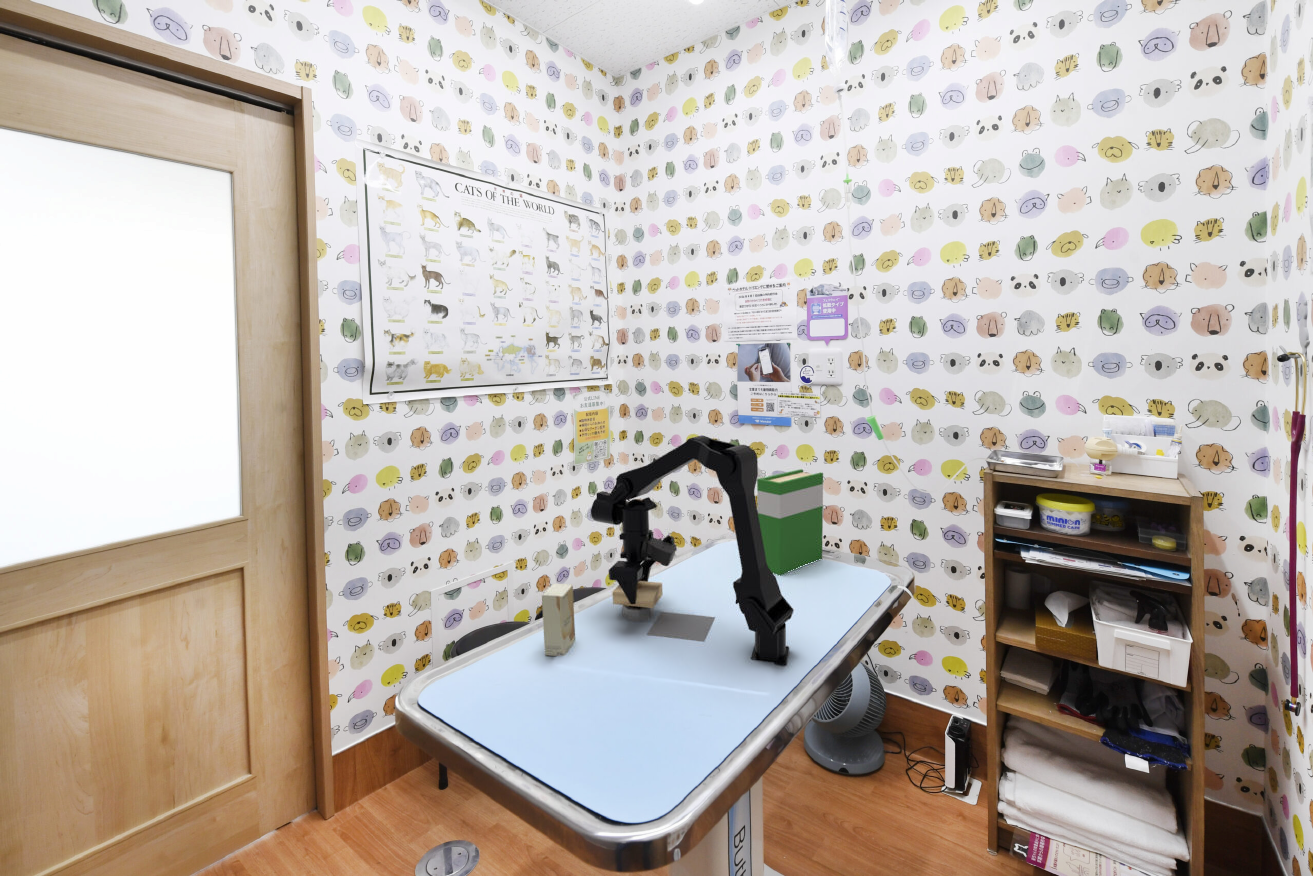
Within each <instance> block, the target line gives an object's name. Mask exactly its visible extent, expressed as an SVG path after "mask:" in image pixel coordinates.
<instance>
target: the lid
mask: <svg viewBox="0 0 1313 876" xmlns="http://www.w3.org/2000/svg"><path fill="white" fill-rule="evenodd" d="M662 596H663V582H656V581H648V582H647V581H639V582H638V588H637V597H636V603H635V604H630V602H629V601H628V599H627V597H626V595H625V593H624V592H623V590H622V588H621V587H620V585H619V584H617V587H615V588H614V589H613V590H612V605H618V606H623V605H627V606H637V607H647V608H654V609H655V606H656V605H657V604H658V602H659V600H660V599H661V598H662Z"/></svg>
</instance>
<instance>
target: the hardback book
mask: <svg viewBox="0 0 1313 876" xmlns="http://www.w3.org/2000/svg"><path fill="white" fill-rule="evenodd" d="M756 487H757V488H756V489H757V495H756V496H757V497H756V498H757V501H756V505H757V511H758V516H759V522H760V528H761V533H762V539H763V545H764V550H765V556H766V562H767V566H768V567H769V569H770V570H771V572H772V573H774V575H776V574H777V575H776V576H779V575H780V576H783V575H785V574H784V573H786V572H788V571H791V570H793V569H796V568H798V567H800V566H803V565H805V564H808V563H811V562H814V561H816V560H819V559H822V560H823V527H824V525H823V524H824V523H823V522H824V521H823V517H824V516H823V514H824V513H823V511H824V509H823V507H824V506H823V505H824V504H823V503H824V473H823V472H817V473H814V474H813V473H807V472H804V469H802V468H801V469H800V468H799V469H796V470H792V471H787V472H783V473H779V474H773V475H769V476H765V477H760V478H757V481H756ZM819 561H820V560H819ZM816 562H817V561H816ZM814 563H815V562H814ZM811 564H812V563H811ZM798 569H799V568H798ZM796 570H797V569H796ZM793 571H794V570H793ZM791 572H792V571H791ZM788 573H789V572H788ZM782 574H783V575H782ZM786 574H787V573H786Z"/></svg>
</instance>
